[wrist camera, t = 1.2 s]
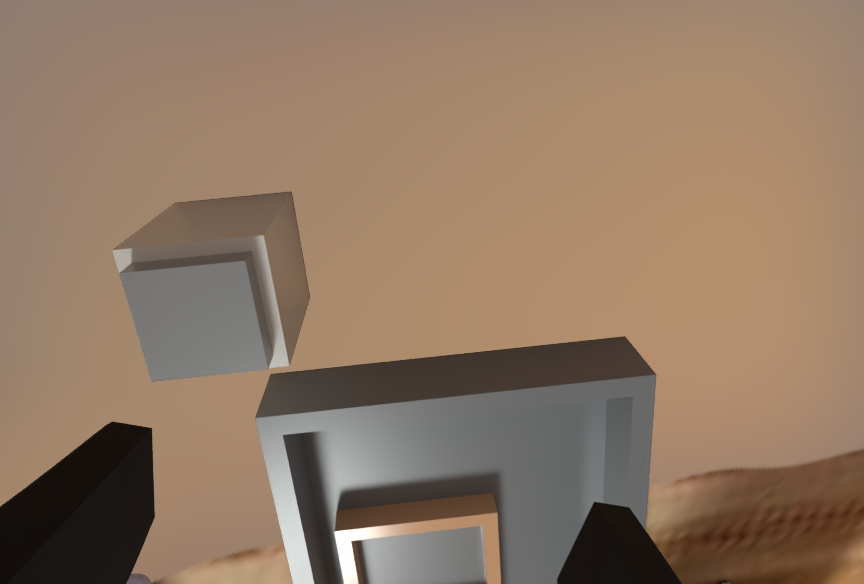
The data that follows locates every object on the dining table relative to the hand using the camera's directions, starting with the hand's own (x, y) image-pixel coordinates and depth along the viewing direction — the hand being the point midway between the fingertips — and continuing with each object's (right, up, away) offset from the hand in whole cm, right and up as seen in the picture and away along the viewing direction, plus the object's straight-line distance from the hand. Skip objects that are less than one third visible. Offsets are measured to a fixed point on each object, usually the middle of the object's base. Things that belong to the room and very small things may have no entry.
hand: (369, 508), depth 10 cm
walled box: (+2, -7, +17) cm, 19 cm away
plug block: (-6, +5, +12) cm, 14 cm away
